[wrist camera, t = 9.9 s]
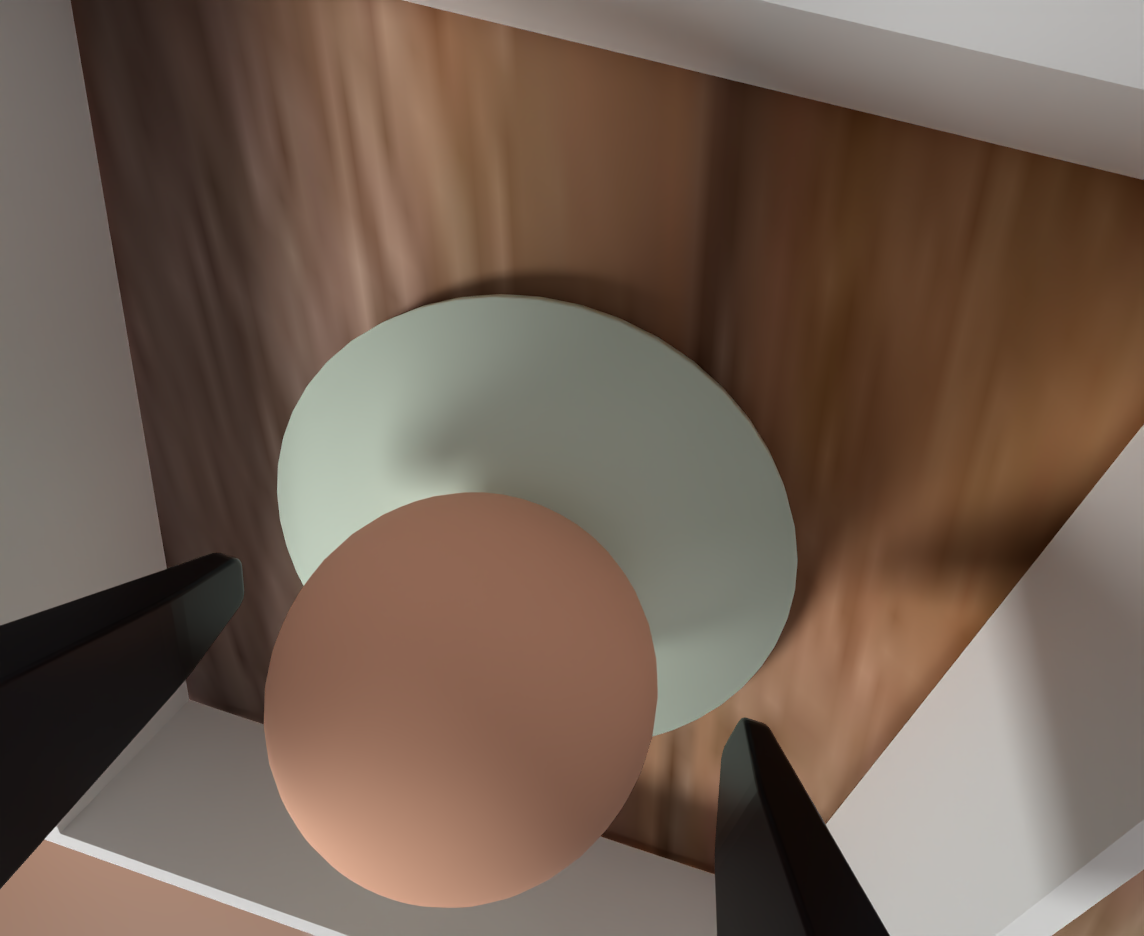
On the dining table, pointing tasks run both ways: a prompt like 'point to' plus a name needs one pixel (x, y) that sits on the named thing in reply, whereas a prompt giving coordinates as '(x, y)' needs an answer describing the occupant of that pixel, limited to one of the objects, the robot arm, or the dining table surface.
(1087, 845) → the walled pen
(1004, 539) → the dining table surface
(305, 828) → the ball
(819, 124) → the dining table surface
